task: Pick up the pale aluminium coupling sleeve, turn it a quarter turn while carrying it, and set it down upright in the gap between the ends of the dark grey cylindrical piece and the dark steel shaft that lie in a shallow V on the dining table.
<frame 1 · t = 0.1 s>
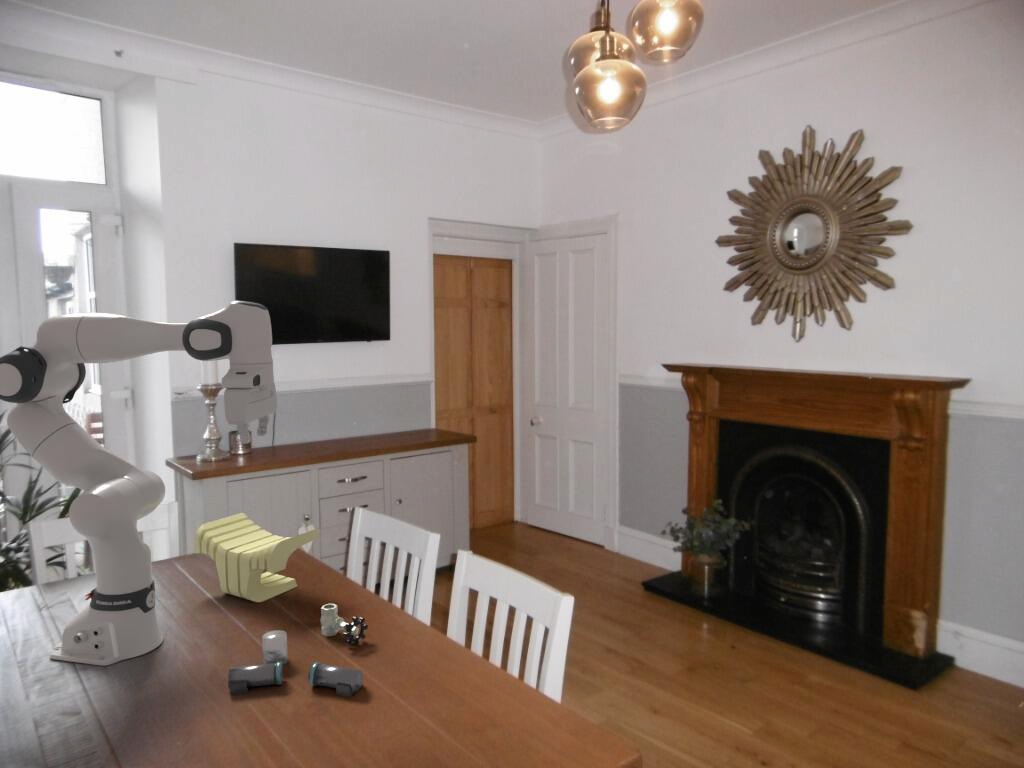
hand: (254, 439, 158), 48 cm above the table, tool pointing down, fingers open, 8 cm apart
dark grey cylindrical piece: (256, 685, 146), on the table
coupler: (275, 661, 157), on the table
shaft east: (336, 687, 146), on the table
slatted curved stool: (258, 591, 196), on the table
valve: (340, 638, 168), on the table
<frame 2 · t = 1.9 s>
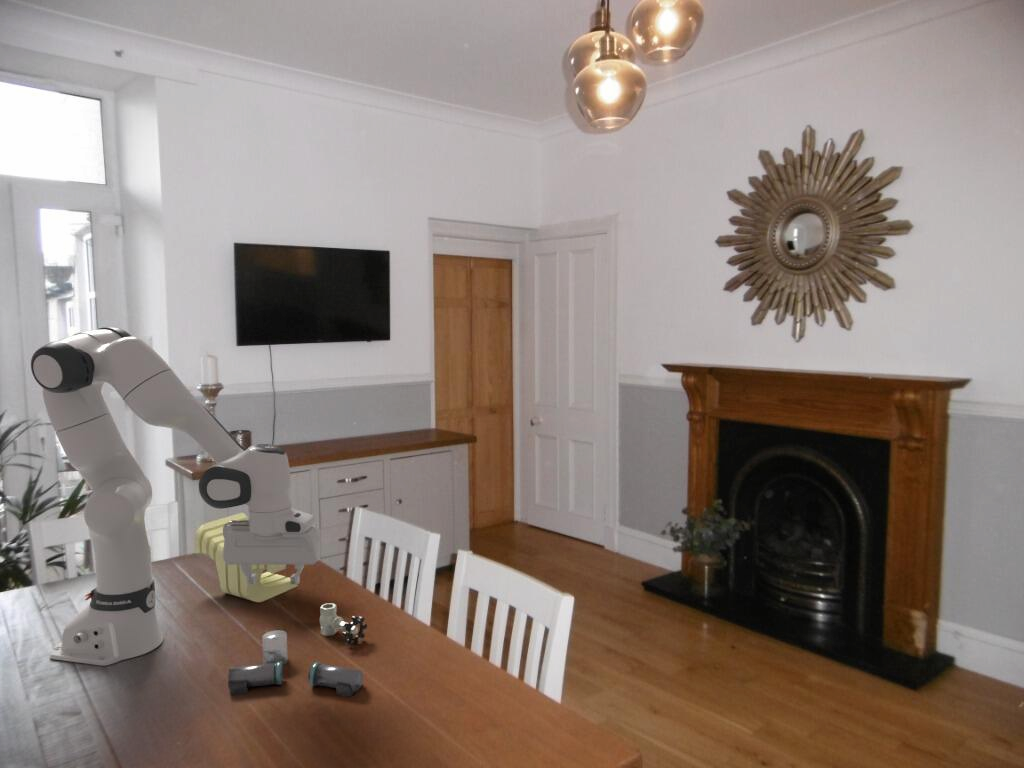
hand: (273, 583, 155), 18 cm above the table, tool pointing down, fingers open, 8 cm apart
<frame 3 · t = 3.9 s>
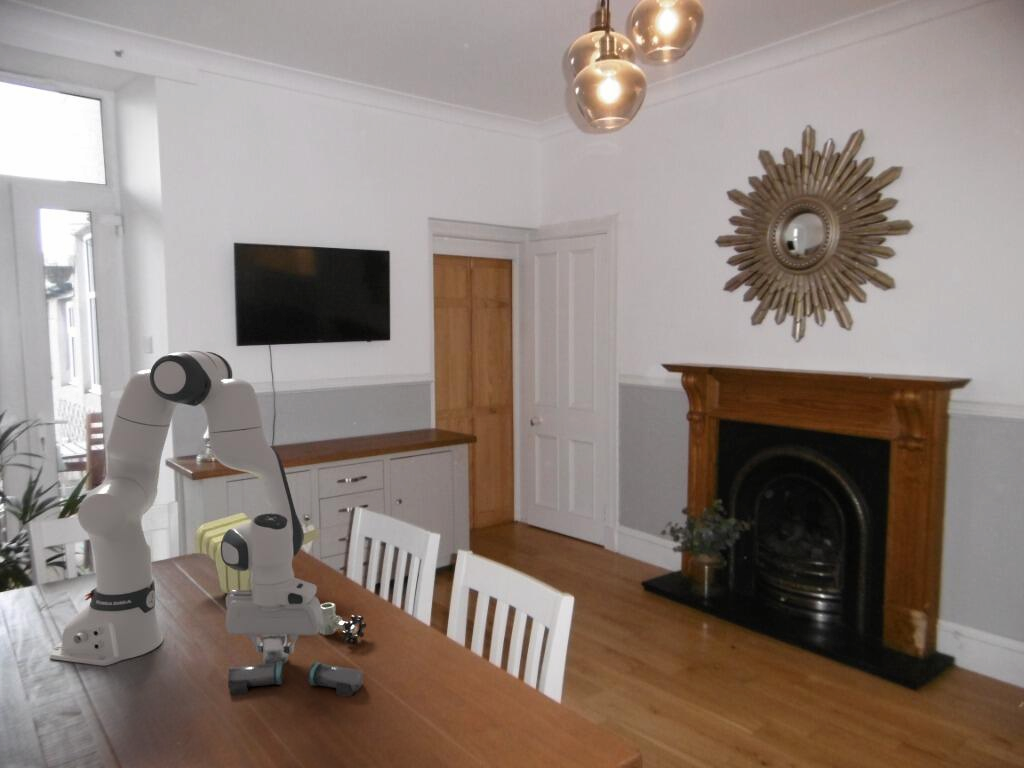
hand: (275, 652, 156), 2 cm above the table, tool pointing down, fingers closed on coupler, 5 cm apart
coupler: (275, 661, 156), on the table, touching gripper
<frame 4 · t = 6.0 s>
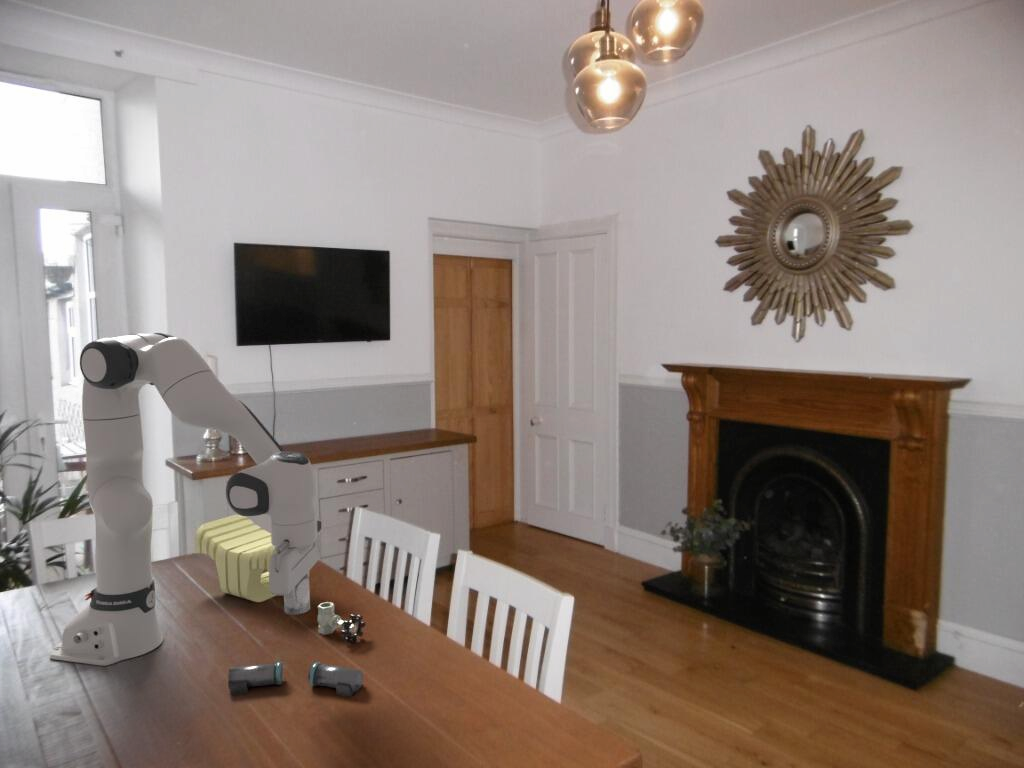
hand: (297, 599, 146), 18 cm above the table, tool pointing down, fingers closed on coupler, 5 cm apart
coupler: (297, 609, 147), point 15 cm above the table, touching gripper
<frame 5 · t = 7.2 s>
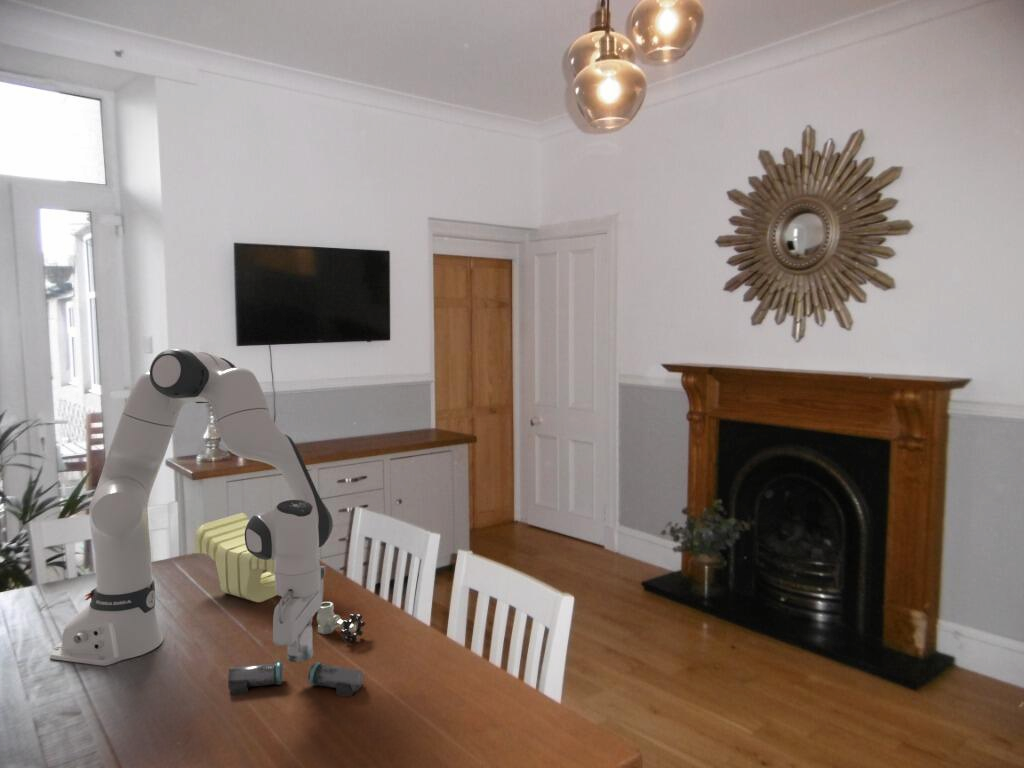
hand: (300, 646, 148), 7 cm above the table, tool pointing down, fingers closed on coupler, 5 cm apart
coupler: (300, 656, 148), point 5 cm above the table, touching gripper
when the fingers open (3 cm above the table, at t = 8.2 s): coupler drops 1 cm, on the table.
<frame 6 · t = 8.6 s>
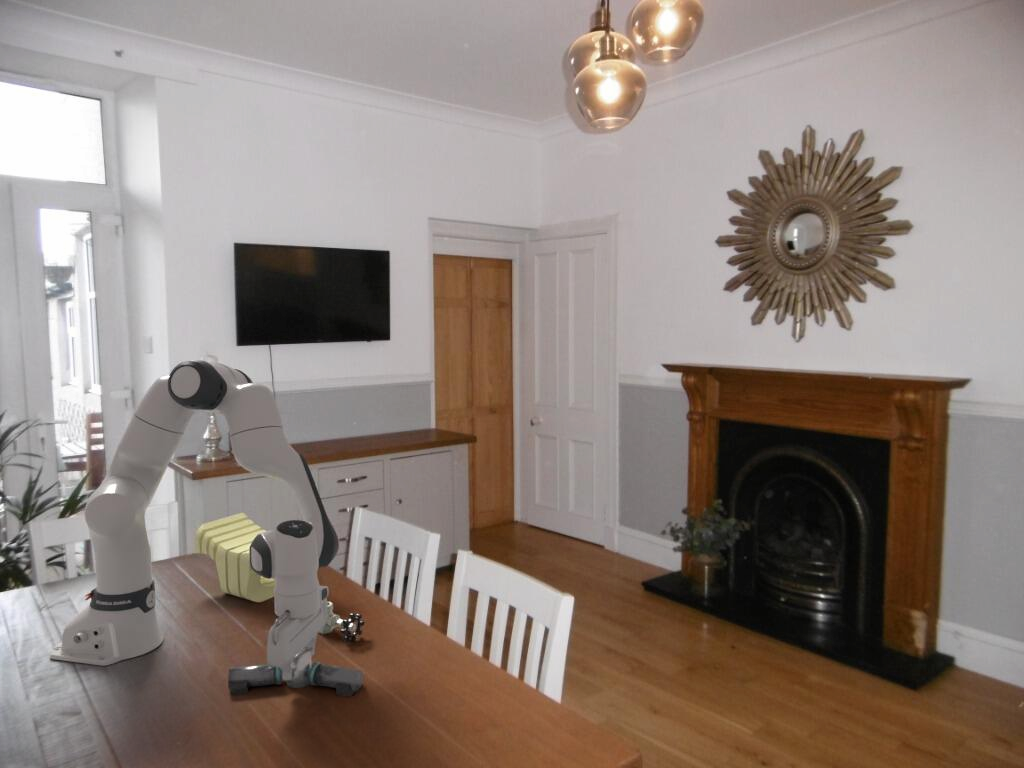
hand: (299, 666, 148), 3 cm above the table, tool pointing down, fingers open, 8 cm apart
coupler: (299, 681, 148), on the table
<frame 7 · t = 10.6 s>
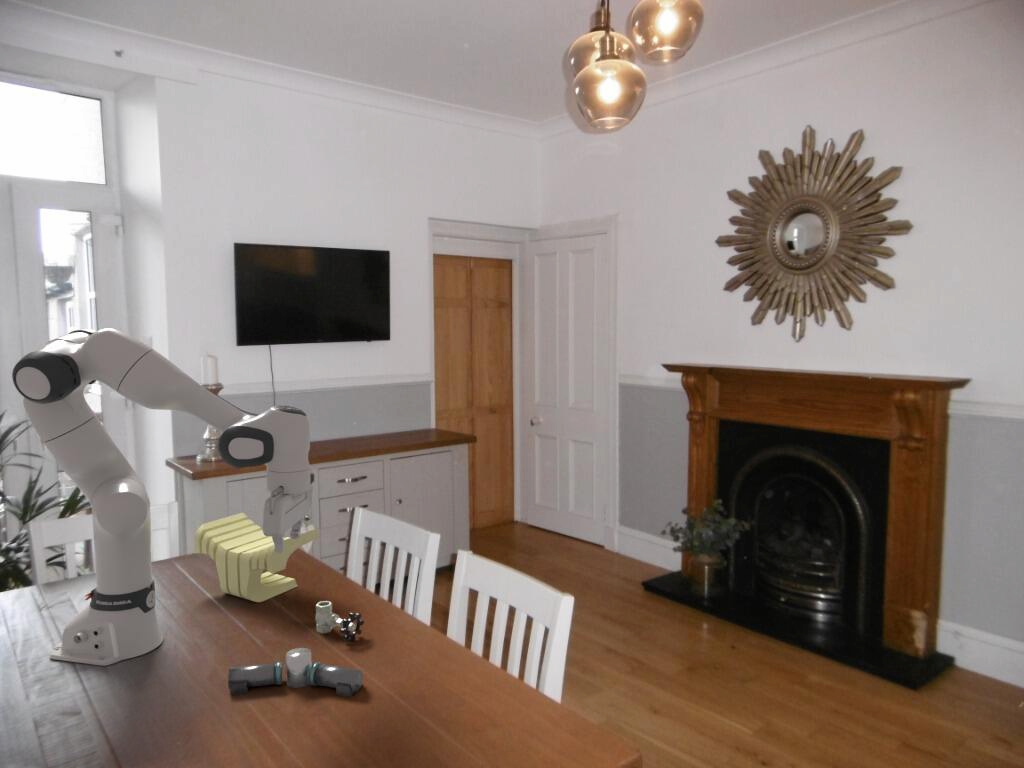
hand: (287, 544, 155), 26 cm above the table, tool pointing down, fingers open, 8 cm apart
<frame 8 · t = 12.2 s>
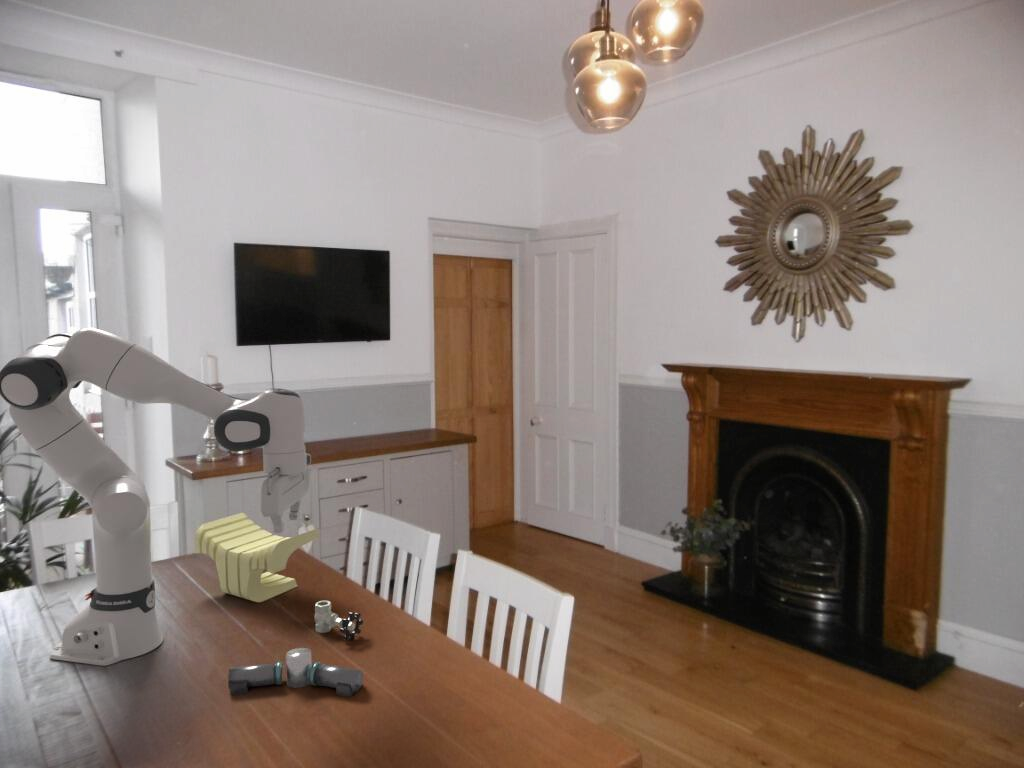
hand: (286, 525, 157), 29 cm above the table, tool pointing down, fingers open, 8 cm apart
at the end: coupler 0.1 cm from the target spot, on the table; coupler tilted 0°; the gripper is holding nothing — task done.
